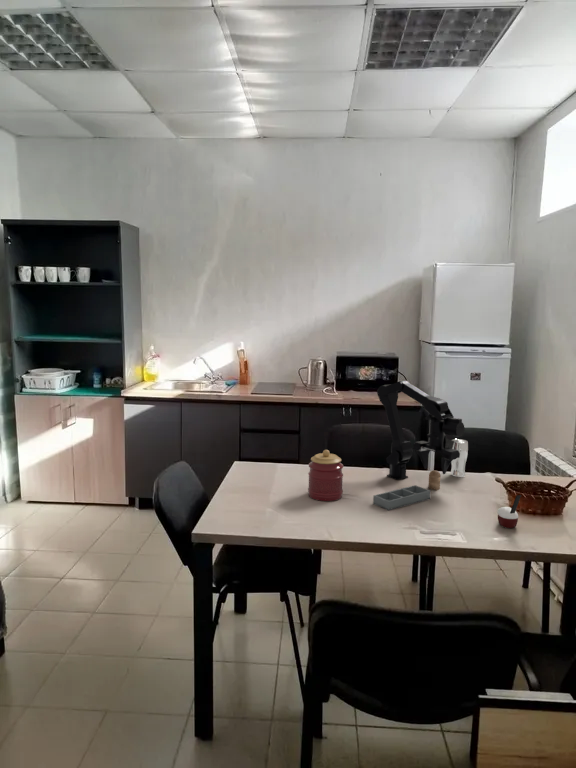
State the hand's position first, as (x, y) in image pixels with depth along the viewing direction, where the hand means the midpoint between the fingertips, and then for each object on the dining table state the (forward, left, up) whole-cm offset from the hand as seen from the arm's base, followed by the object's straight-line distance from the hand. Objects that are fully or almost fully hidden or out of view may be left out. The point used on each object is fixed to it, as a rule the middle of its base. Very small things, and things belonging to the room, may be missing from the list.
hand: (434, 471), depth 214 cm
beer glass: (-6, +22, -7) cm, 24 cm away
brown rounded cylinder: (0, 0, -7) cm, 7 cm away
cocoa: (+39, -10, -7) cm, 41 cm away
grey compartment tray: (+4, -22, -7) cm, 23 cm away
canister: (-16, -42, -7) cm, 45 cm away
